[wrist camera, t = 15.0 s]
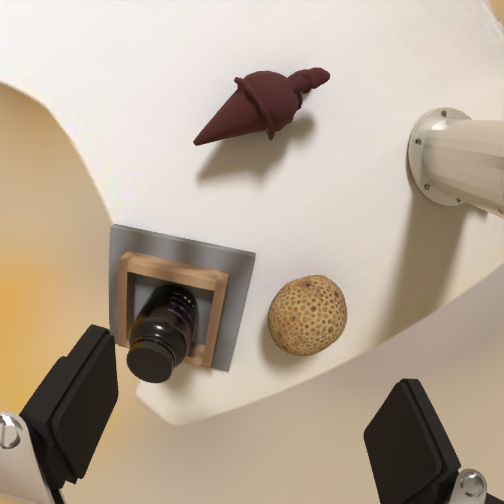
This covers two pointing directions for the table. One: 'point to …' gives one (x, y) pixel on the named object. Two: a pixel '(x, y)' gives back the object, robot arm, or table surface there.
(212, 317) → the collar board
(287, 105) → the icecream
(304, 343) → the natural sponge
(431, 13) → the table surface
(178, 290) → the supplement bottle
